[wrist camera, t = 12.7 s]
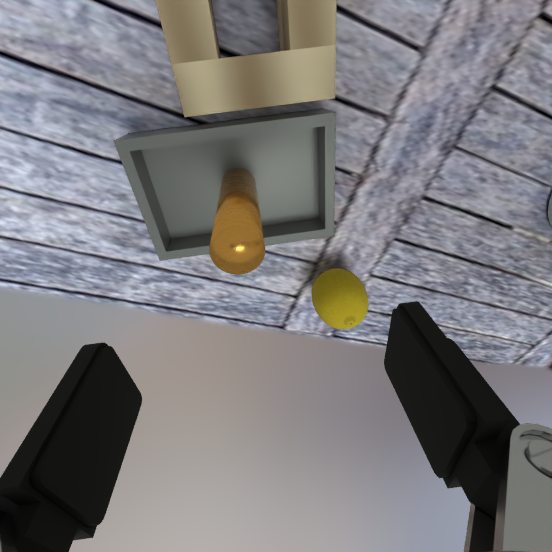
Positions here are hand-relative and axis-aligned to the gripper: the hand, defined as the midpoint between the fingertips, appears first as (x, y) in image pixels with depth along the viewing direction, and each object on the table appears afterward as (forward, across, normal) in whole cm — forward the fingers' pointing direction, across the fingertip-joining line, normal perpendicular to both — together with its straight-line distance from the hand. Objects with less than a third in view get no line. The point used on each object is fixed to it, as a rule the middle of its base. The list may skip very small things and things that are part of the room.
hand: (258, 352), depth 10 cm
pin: (+19, +1, 0) cm, 19 cm away
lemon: (+21, -7, +12) cm, 25 cm away
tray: (+20, +1, 0) cm, 20 cm away
